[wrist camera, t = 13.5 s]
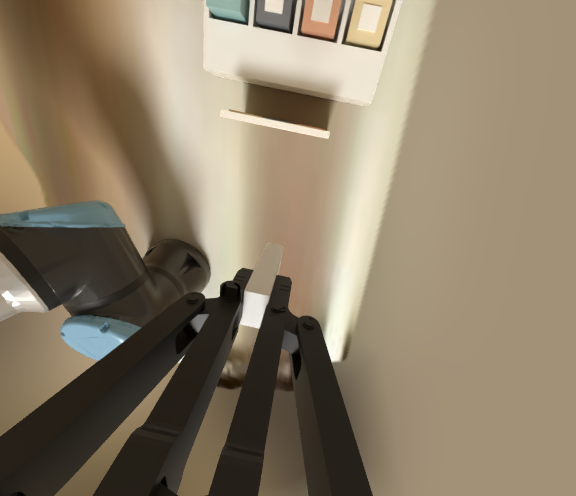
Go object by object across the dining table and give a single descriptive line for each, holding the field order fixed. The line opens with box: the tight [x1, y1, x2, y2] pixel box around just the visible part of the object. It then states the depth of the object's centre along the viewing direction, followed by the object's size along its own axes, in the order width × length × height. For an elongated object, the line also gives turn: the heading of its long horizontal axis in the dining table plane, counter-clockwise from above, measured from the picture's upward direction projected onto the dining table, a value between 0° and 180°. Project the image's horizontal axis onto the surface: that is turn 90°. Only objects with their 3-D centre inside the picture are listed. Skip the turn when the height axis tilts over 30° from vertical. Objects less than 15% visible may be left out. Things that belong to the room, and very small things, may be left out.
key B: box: [301, 0, 342, 42], centre depth 29 cm, size 4×4×4 cm
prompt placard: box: [221, 110, 330, 139], centre depth 33 cm, size 14×1×11 cm, turn 80°
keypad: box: [204, 0, 403, 107], centre depth 30 cm, size 24×16×5 cm, turn 80°
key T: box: [344, 0, 393, 51], centre depth 29 cm, size 4×4×4 cm
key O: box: [256, 0, 297, 34], centre depth 29 cm, size 4×4×4 cm
